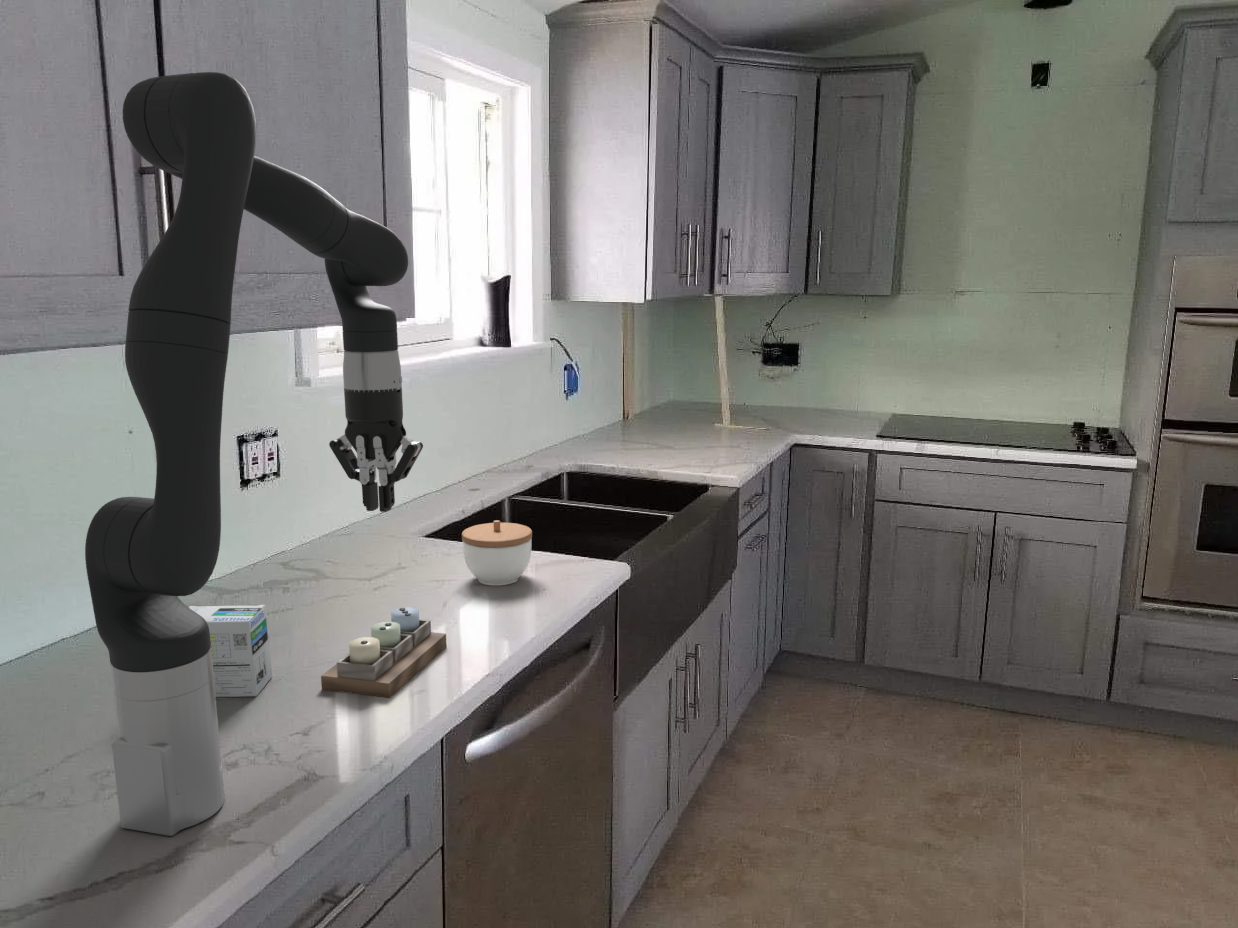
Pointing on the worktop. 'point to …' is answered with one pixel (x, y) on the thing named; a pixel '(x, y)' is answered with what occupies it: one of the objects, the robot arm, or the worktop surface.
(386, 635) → the two-pip button
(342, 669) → the button panel
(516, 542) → the lidded bowl
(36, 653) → the worktop surface
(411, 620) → the three-pip button
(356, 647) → the one-pip button
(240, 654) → the light bulb box
